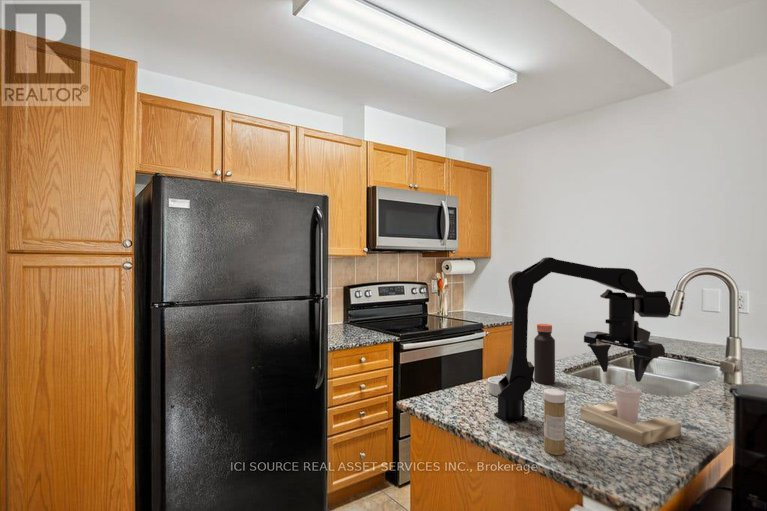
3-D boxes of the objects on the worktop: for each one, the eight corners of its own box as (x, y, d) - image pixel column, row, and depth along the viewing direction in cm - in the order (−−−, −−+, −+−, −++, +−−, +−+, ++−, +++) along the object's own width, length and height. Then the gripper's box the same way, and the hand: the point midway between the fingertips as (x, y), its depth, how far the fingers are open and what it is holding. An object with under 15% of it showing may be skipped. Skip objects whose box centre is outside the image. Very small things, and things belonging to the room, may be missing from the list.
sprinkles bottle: (548, 444, 93) (548, 386, 94) (568, 451, 90) (568, 391, 90) (540, 451, 90) (540, 391, 90) (561, 458, 87) (561, 396, 87)
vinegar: (557, 385, 138) (557, 326, 138) (536, 384, 139) (536, 326, 139) (552, 379, 144) (552, 323, 144) (532, 378, 145) (532, 323, 146)
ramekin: (486, 396, 126) (486, 382, 126) (488, 388, 135) (488, 375, 135) (516, 399, 124) (516, 385, 124) (516, 390, 132) (516, 377, 132)
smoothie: (609, 426, 104) (609, 371, 104) (617, 419, 108) (617, 367, 108) (638, 434, 99) (638, 377, 99) (645, 426, 104) (644, 372, 104)
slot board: (641, 445, 93) (641, 432, 93) (580, 419, 108) (580, 408, 108) (680, 435, 98) (680, 423, 98) (617, 411, 114) (617, 400, 114)
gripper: (679, 320, 99) (679, 383, 99) (610, 310, 116) (610, 364, 116) (649, 322, 95) (649, 388, 95) (582, 312, 112) (582, 368, 112)
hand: (621, 376), depth 104 cm, fingers open, 9 cm apart
